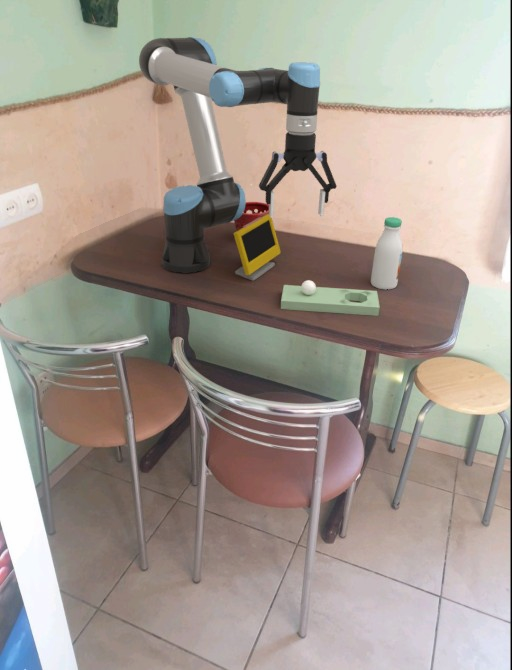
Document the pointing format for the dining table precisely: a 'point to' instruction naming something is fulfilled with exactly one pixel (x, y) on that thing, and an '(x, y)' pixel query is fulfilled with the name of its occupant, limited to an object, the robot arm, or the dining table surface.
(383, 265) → the milk bottle
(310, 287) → the ball
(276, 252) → the yellow framed monitor
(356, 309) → the putting strip
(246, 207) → the plant pot
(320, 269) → the dining table surface
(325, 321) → the dining table surface
